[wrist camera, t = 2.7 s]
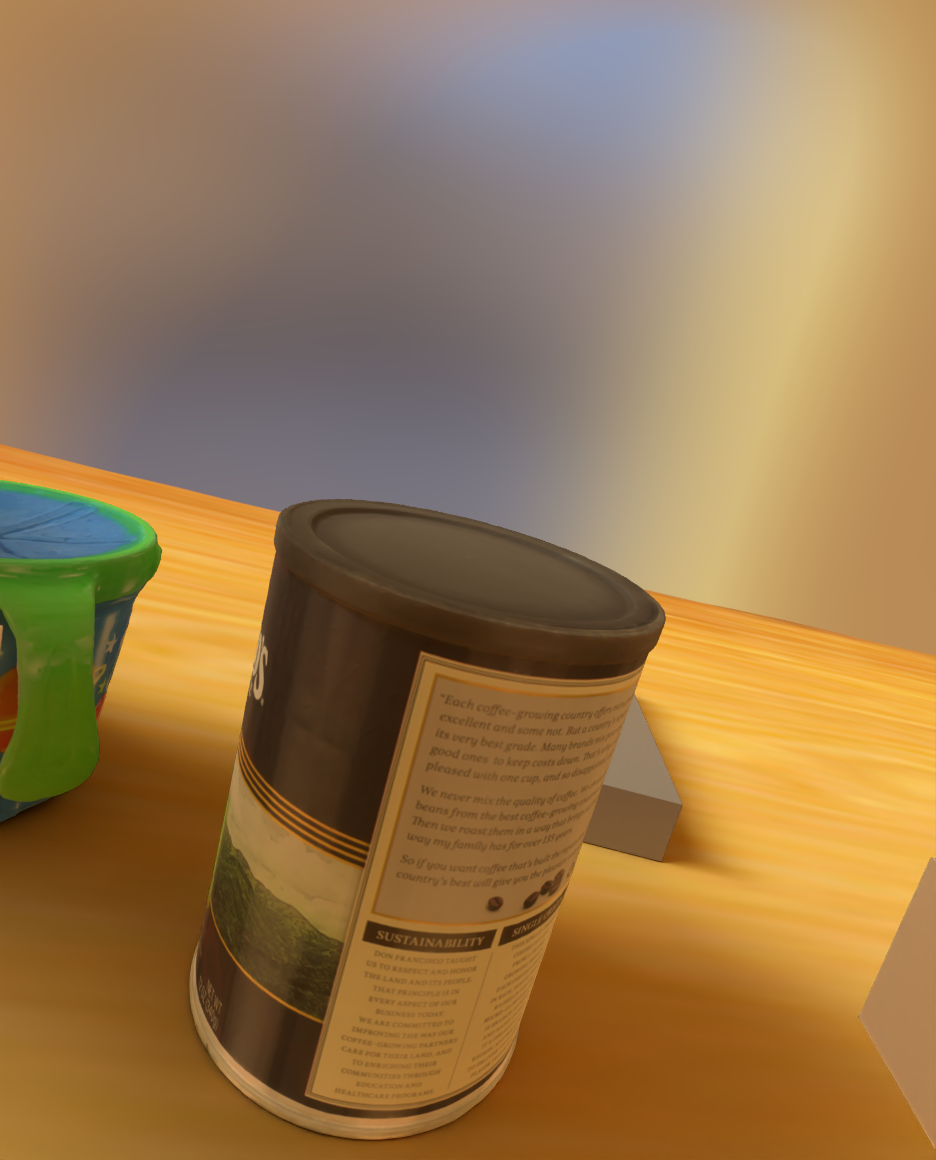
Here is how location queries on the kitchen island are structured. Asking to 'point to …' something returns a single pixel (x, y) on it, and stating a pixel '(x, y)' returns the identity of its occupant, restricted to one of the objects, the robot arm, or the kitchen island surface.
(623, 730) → the slate plinth
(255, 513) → the kitchen island surface
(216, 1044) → the coffee can
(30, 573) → the snack cup
